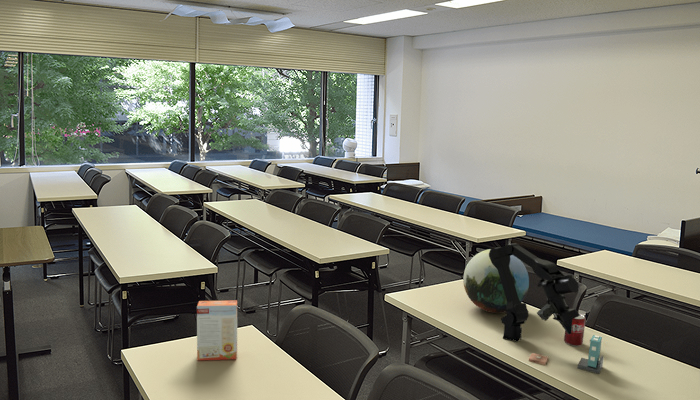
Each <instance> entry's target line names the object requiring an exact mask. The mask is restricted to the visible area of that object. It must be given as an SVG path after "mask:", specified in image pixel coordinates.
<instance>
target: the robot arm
mask: <svg viewBox="0 0 700 400" xmlns="http://www.w3.org/2000/svg"><path fill="white" fill-rule="evenodd" d="M490 249H491V250H490V252H489V258H490V260H491V262H492V264H493V265H494V266H495V267H496V268H497V270H498V273H499V276H500V280H501V283H502V286H503V290H504V293H505V296H506V300H507V306H506V312H505V315H504V316H502V317H501V318H500V323H501V324H503V325H504V328H503V336H502V339H504V340H508V341H512V342H513V341H514V342H519V341H520V340H521V338H522V333H523V327H522V325H524V324H525V322H526V321H527V320H528V318H529V309H528V308H527V303H525V302H523V301H522V302H521V301H520V300H519V298H518V294H517V291H516V288H515V285H514V281H513V278H512V275H511V271H510V268H509V264H510V260H511V259H510V256H511V255H513V256H515V257H516V258H518V259H519V260H521V262H522V263H523V264H524V265H525V264H526V265H527V266H528V267H530V268H531V269H532V271H533V273H534V274H535V275H536V276H537V277H538V278H540V279H539V282H538V284H537V287H538V288H539V287H542V289H543V291H544V293H545V295H546V301H545V302H546V304H545V305H544V306H542V308H540V309H539V310H538V311H537V312H536V314H537V315H538V317H539V318H540V319H541V320H543V321H548V320H549V319H550V317H552V316H553V317H552V319H553V320H555V321H557V322H558V323H559V324H560V325H561V327H562V328H563V329H564V332H565V331H566V332H567V333H568V334H571V331H572V320H573V318H576V317H578V316H580V315H579V314H580V312H579V310H577V309H574V308H570V306H569V305H567V303H566V301H565V299H566V296H565V295H568V294H569V295H570V294H575V293H578V291H579V287H580V285H579V282H578V281H577V280H576V278H574V277H573V275H572V274H566V275H565V274H564V273H563V272H562V271H561V270H560V269H559V268H558V266H557V264H556V263H554V262H552V261H549V260H546V259H542V258H540V257H537V256H536V255H535V254H533V253H532V252H530V251H528V250H527V249H525V248H524V247H523V246H521V245H520V244H519V243H517V242H515V243H509V244H507V245H504V246H501V247H493V248H490Z"/></svg>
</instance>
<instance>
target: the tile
mask: <svg viewBox="0 0 700 400" xmlns="http://www.w3.org/2000/svg"><path fill="white" fill-rule="evenodd" d="M528 357H529V358H528V362H530V363H536V364H538V365H543V366H546V364H547V362H548V361H549V356H548V355H547V356H546V355H543V354H538V353H535V352H532V353H531V354H530V356H528Z"/></svg>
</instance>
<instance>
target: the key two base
mask: <svg viewBox="0 0 700 400" xmlns="http://www.w3.org/2000/svg"><path fill="white" fill-rule="evenodd" d="M604 357H605V356H604V355H603V354H602V355H600V357H599V362H598V365H597V367H596V368H595V367H591V366H587V365H588V358H584V357H581V358H580V360H579V361H578V364H577V369H579V370H583V371H587V372H590V373H594V374H597V375H600V373H601V371H602V369H603V363H604Z"/></svg>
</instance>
